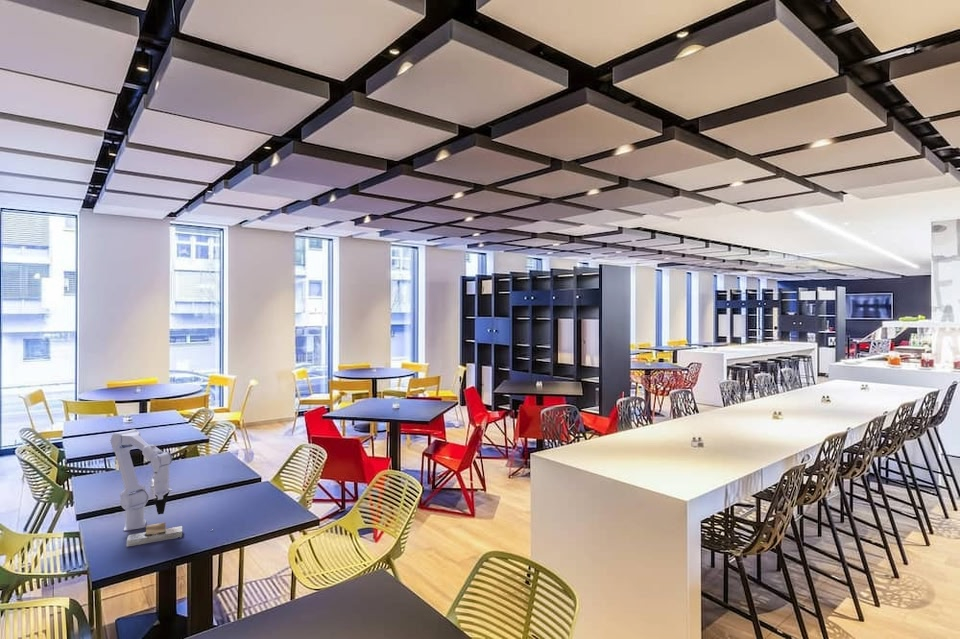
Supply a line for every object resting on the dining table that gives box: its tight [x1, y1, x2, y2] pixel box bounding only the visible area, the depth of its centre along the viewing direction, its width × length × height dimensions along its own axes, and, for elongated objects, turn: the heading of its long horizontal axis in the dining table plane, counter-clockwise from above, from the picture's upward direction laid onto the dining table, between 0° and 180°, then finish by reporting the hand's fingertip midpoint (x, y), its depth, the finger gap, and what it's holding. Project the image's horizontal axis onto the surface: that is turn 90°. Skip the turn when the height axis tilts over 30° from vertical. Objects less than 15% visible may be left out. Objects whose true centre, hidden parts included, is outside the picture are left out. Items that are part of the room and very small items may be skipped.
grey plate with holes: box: [126, 525, 183, 548], centre depth 225 cm, size 7×20×2 cm, turn 119°
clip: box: [145, 521, 166, 536], centre depth 225 cm, size 3×7×6 cm, turn 119°
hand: (161, 511), depth 233 cm, fingers open, 7 cm apart
